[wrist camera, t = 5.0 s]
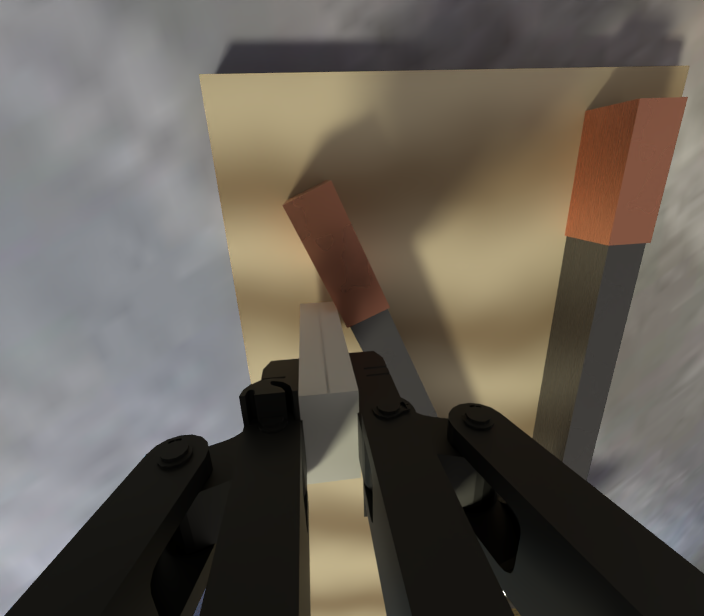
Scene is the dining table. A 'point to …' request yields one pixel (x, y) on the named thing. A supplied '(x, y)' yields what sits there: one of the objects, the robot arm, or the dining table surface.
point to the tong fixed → (602, 266)
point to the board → (410, 235)
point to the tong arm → (354, 285)
